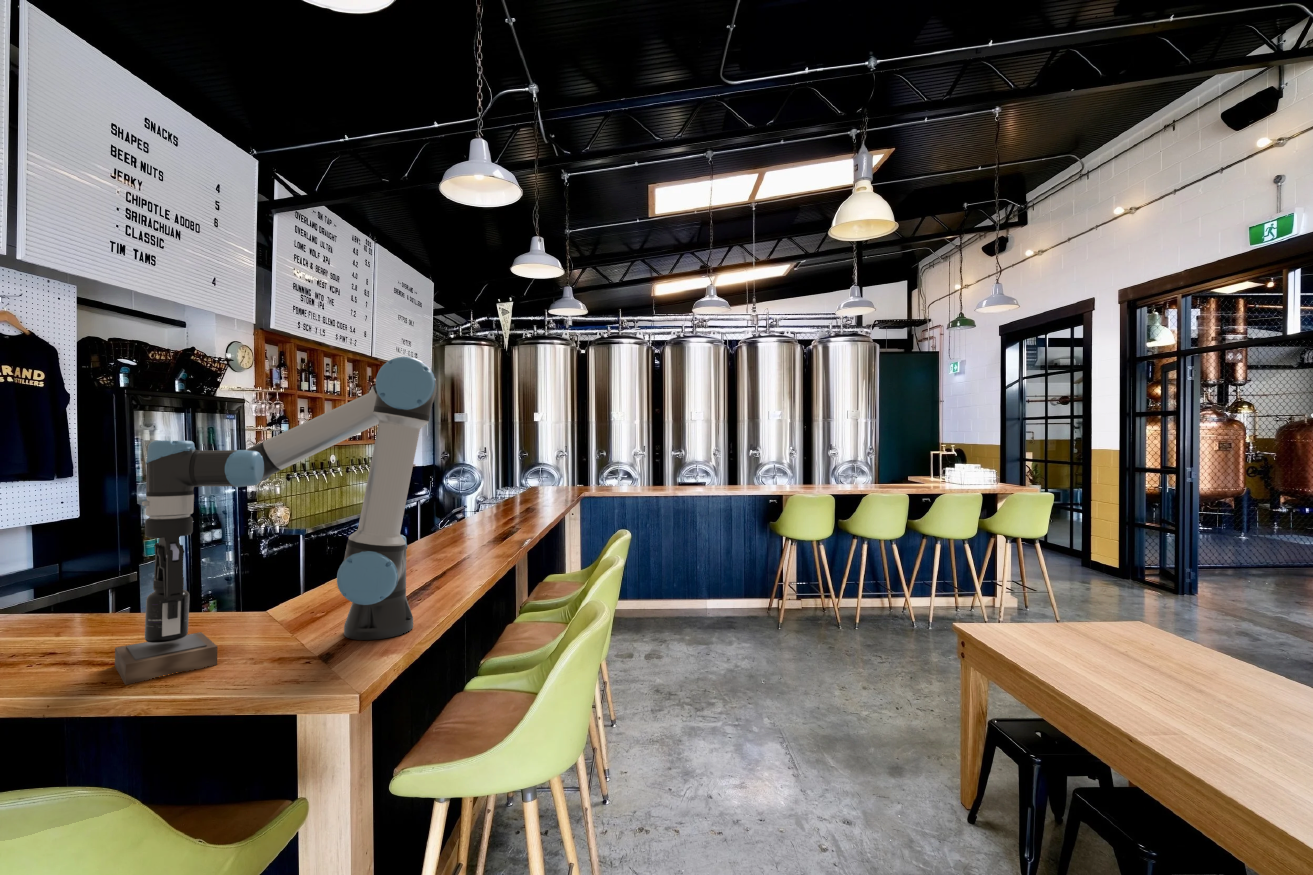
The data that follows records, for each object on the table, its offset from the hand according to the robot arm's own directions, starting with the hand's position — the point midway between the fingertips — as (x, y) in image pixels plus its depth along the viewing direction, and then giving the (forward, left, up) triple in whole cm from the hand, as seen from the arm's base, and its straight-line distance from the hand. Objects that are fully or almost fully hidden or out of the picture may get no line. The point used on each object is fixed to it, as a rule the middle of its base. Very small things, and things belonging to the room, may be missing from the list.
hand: (167, 630), depth 121 cm
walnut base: (0, 0, -7) cm, 7 cm away
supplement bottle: (0, 0, -2) cm, 2 cm away
